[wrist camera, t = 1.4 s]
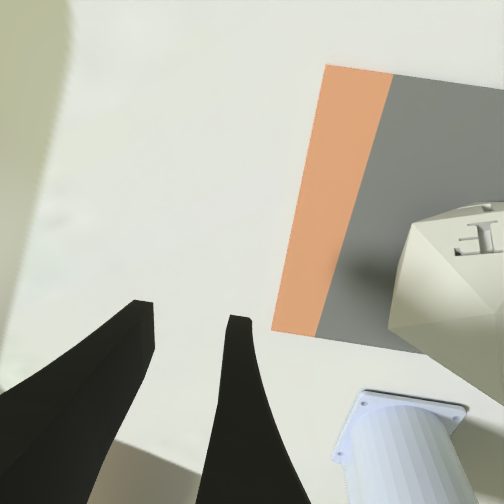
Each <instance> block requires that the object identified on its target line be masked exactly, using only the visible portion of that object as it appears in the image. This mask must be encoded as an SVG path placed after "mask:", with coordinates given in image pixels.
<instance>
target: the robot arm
mask: <svg viewBox="0 0 504 504" xmlns="http://www.w3.org/2000/svg"><path fill="white" fill-rule="evenodd" d="M154 350H155V338H154V312H153V303H152V302H146V301H139V300H133V301H132V302H131V303H129V304H128V305H127V306H125V307H124V308H123V309H122V310H120V311H119V312H118V313H117V314H116V315H114V316H113V317H112V318H111V319H109V320H108V321H107V322H106V323H104V324H103V325H102V326H100V327H99V328H98V329H97V330H95V331H94V332H93V333H91V334H90V335H89V336H87V337H86V338H85V339H84V340H82V341H81V342H80V343H78V344H77V345H76V346H74V347H73V348H71V349H70V350H69V351H67V352H66V353H64V354H63V355H61V356H60V357H59V358H57V359H56V360H54V361H53V362H51V363H50V364H49V365H47V366H46V367H44V368H43V369H41V370H40V371H38V372H37V373H35V374H33V375H32V376H30V377H29V378H27V379H26V380H24V381H22V382H21V383H19V384H17V385H16V386H14V387H12V388H11V389H9V390H8V391H6V392H4V393H2V394H1V395H0V504H87V501H88V499H89V496H90V493H91V491H92V489H93V486H94V484H95V481H96V479H97V476H98V473H99V471H100V468H101V466H102V464H103V461H104V459H105V457H106V455H107V453H108V450H109V448H110V446H111V444H112V442H113V440H114V438H115V436H116V434H117V432H118V430H119V428H120V426H121V424H122V422H123V420H124V418H125V416H126V414H127V412H128V410H129V408H130V406H131V404H132V402H133V400H134V398H135V396H136V394H137V392H138V390H139V388H140V386H141V384H142V382H143V380H144V377H145V375H146V372H147V369H148V367H149V364H150V361H151V358H152V355H153V352H154ZM465 415H466V411H465V409H464V408H463V407H462V406H457V405H451V404H445V403H438V402H432V401H426V400H419V399H413V398H407V397H401V396H394V395H388V394H382V393H375V392H369V391H363V392H361V393H360V394H359V395H358V397H357V400H356V402H355V404H354V406H353V409H352V411H351V413H350V415H349V417H348V420H347V422H346V424H345V426H344V429H343V431H342V433H341V435H340V437H339V440H338V442H337V444H336V446H335V448H334V451H333V453H332V455H331V457H332V461H333V462H335V463H340V464H343V469H344V476H345V483H346V490H347V497H348V504H479V503H478V501H477V499H476V496H475V494H474V492H473V489H472V487H471V485H470V483H469V480H468V478H467V476H466V473H465V471H464V469H463V467H462V464H461V462H460V460H459V457H458V455H457V453H456V451H455V448H454V446H453V444H452V442H451V439H450V435H451V434H452V433H453V431H454V430H455V429H456V427H457V426H458V425H459V423H460V422H461V421H462V419H463V418H464V417H465ZM196 504H311V502H310V500H309V498H308V496H307V494H306V492H305V490H304V488H303V486H302V483H301V481H300V479H299V477H298V475H297V473H296V471H295V469H294V467H293V465H292V462H291V460H290V458H289V456H288V453H287V451H286V448H285V446H284V444H283V441H282V439H281V436H280V434H279V431H278V429H277V426H276V423H275V421H274V418H273V415H272V412H271V409H270V406H269V403H268V400H267V397H266V394H265V391H264V387H263V384H262V380H261V376H260V372H259V368H258V364H257V360H256V355H255V349H254V343H253V335H252V320H251V319H250V318H248V317H242V316H236V315H230V317H229V321H228V324H227V328H226V333H225V342H224V351H223V360H222V369H221V378H220V387H219V396H218V405H217V409H216V414H215V419H214V423H213V428H212V432H211V437H210V441H209V446H208V450H207V455H206V459H205V464H204V468H203V473H202V477H201V482H200V486H199V490H198V495H197V499H196Z"/></svg>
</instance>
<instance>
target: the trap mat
mask: <svg viewBox="0 0 504 504" xmlns="http://www.w3.org/2000/svg"><path fill="white" fill-rule="evenodd" d="M474 202H504V90H500V89H493V88H486V87H479V86H472V85H465V84H458V83H451V82H444V81H437V80H430V79H423V78H416V77H409V76H402V75H395V74H388V73H381V72H374V71H367V70H360V69H353V68H346V67H339V66H332V65H326V66H325V71H324V76H323V80H322V85H321V90H320V95H319V100H318V105H317V109H316V114H315V119H314V124H313V129H312V134H311V139H310V143H309V148H308V153H307V158H306V163H305V168H304V173H303V177H302V182H301V187H300V192H299V197H298V202H297V206H296V211H295V216H294V221H293V226H292V231H291V236H290V240H289V245H288V250H287V255H286V260H285V265H284V270H283V274H282V279H281V284H280V289H279V294H278V299H277V303H276V308H275V313H274V318H273V323H272V328H271V331H278V332H284V333H291V334H297V335H303V336H310V337H316V338H323V339H329V340H335V341H342V342H348V343H355V344H361V345H367V346H374V347H380V348H387V349H393V350H399V351H406V352H412V353H419V354H424V353H423V352H421V351H420V350H418V349H417V348H415V347H414V346H412V345H411V344H409V343H408V342H406V341H405V340H403V339H402V338H400V337H399V336H397V335H396V334H394V333H393V332H391V331H390V330H388V323H389V317H390V310H391V304H392V298H393V291H394V285H395V279H396V272H397V266H398V263H399V260H400V257H401V254H402V251H403V248H404V245H405V242H406V240H407V237H408V234H409V231H410V228H411V225H412V223H414V222H417V221H420V220H423V219H426V218H429V217H432V216H435V215H438V214H441V213H444V212H447V211H450V210H453V209H457V208H459V207H462V206H465V205H468V204H471V203H474ZM425 355H426V354H425Z"/></svg>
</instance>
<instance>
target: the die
mask: <svg viewBox="0 0 504 504" xmlns="http://www.w3.org/2000/svg"><path fill="white" fill-rule="evenodd" d="M388 330H390V331H391V332H393V333H394V334H396V335H397V336H399V337H400V338H402V339H403V340H405V341H406V342H408V343H409V344H411V345H412V346H414V347H415V348H417V349H418V350H420V351H421V352H423V353H424V354H426V355H427V356H429V357H430V358H432V359H433V360H435V361H437V362H438V363H440V364H441V365H443V366H444V367H446V368H447V369H449V370H450V371H452V372H453V373H455V374H456V375H458V376H459V377H461V378H462V379H464V380H465V381H467V382H468V383H470V384H471V385H473V386H474V387H476V388H477V389H479V390H480V391H482V392H483V393H485V394H486V395H488V396H489V397H491V398H492V399H494V400H495V401H497V402H498V403H500V404H501V405H503V406H504V202H474V203H471V204H468V205H465V206H462V207H459V208H457V209H453V210H450V211H447V212H444V213H441V214H438V215H435V216H432V217H429V218H426V219H423V220H420V221H417V222H414V223H412V225H411V228H410V231H409V234H408V237H407V240H406V242H405V245H404V248H403V251H402V254H401V257H400V260H399V263H398V266H397V272H396V279H395V285H394V291H393V298H392V304H391V310H390V317H389V323H388Z"/></svg>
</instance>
